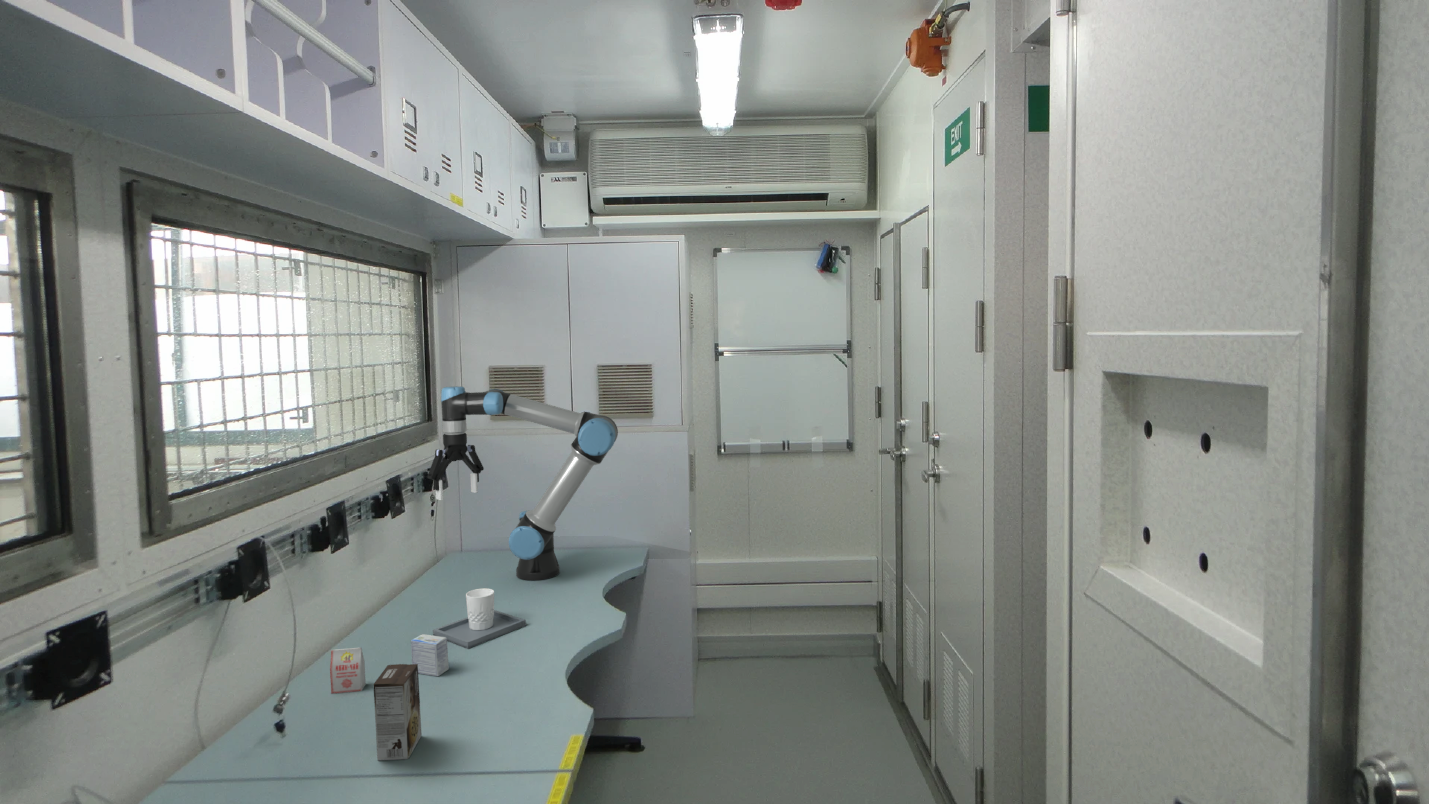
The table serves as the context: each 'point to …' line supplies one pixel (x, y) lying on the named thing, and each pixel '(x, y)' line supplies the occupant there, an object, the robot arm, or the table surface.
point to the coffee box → (397, 711)
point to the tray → (470, 638)
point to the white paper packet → (347, 670)
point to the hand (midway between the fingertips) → (457, 495)
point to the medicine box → (430, 654)
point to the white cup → (480, 608)
